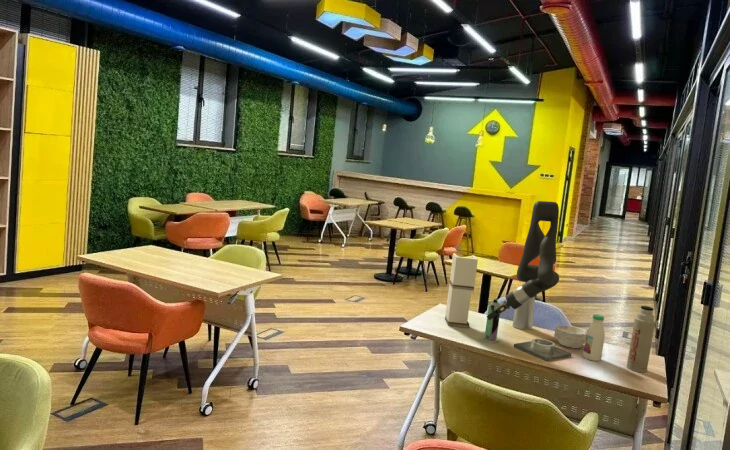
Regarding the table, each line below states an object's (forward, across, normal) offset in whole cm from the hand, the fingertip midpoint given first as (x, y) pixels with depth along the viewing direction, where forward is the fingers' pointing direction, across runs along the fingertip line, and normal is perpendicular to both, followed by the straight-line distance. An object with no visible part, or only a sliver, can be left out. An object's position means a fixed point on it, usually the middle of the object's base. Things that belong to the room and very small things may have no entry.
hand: (489, 316), depth 258 cm
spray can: (+7, 0, +9) cm, 12 cm away
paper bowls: (-16, -23, +33) cm, 44 cm away
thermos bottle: (-37, -10, +54) cm, 66 cm away
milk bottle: (-24, -10, +41) cm, 48 cm away
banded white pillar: (+22, -16, -6) cm, 27 cm away
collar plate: (-10, -2, +26) cm, 28 cm away
